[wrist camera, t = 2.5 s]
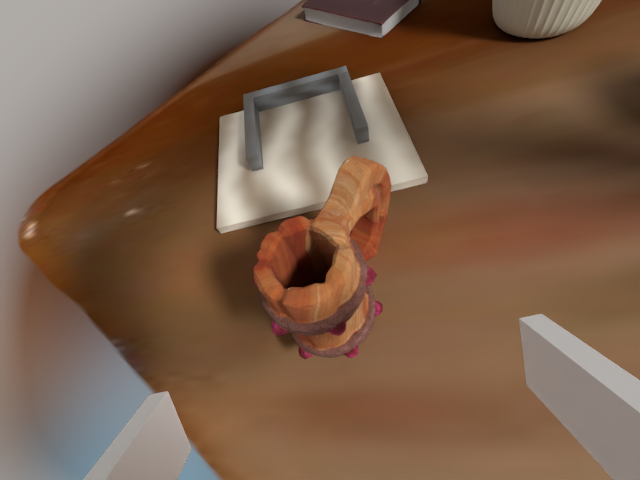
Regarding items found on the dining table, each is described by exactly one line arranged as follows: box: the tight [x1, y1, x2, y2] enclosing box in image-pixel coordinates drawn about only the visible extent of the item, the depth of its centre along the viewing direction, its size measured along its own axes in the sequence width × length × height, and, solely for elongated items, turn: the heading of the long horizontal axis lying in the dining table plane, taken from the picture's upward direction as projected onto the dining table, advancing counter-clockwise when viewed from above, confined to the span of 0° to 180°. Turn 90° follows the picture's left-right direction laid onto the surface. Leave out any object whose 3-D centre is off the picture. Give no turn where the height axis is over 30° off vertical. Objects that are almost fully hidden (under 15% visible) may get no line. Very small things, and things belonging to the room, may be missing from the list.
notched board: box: [217, 66, 428, 233], centre depth 42 cm, size 26×22×4 cm
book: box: [302, 0, 421, 38], centre depth 60 cm, size 12×19×3 cm, turn 49°
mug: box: [253, 156, 391, 359], centre depth 25 cm, size 15×8×15 cm, turn 146°
